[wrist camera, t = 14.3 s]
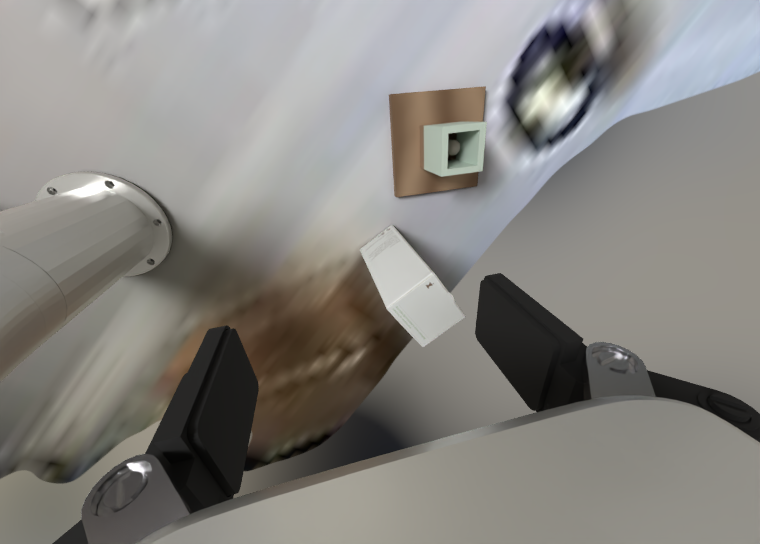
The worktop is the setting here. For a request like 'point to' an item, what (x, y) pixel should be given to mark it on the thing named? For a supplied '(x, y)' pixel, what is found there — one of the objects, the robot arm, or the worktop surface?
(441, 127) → the sleeve
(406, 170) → the pin board
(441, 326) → the skincare box
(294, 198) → the worktop surface
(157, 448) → the robot arm
